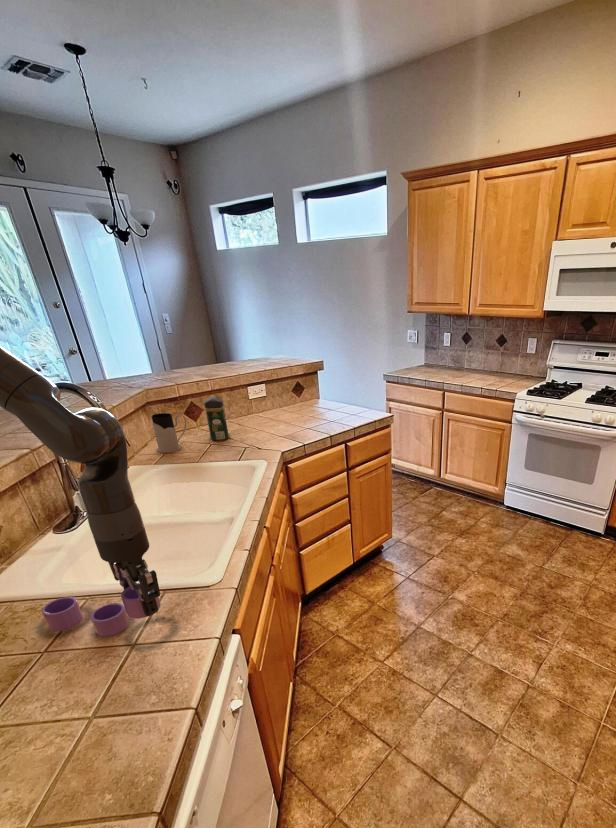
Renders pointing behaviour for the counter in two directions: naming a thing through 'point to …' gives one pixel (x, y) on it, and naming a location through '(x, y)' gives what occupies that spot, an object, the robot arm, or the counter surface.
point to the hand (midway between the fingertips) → (143, 606)
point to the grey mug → (166, 432)
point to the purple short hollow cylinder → (62, 614)
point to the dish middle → (110, 619)
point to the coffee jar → (216, 418)
